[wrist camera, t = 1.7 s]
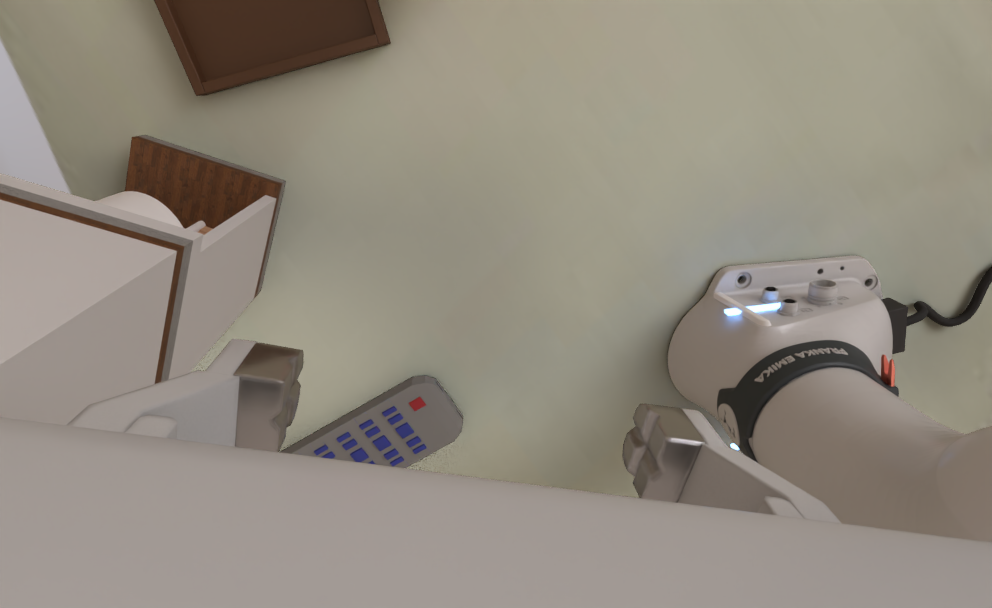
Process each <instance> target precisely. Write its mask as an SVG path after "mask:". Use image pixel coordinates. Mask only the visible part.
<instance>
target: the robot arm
mask: <svg viewBox="0 0 992 608" xmlns="http://www.w3.org/2000/svg"><path fill="white" fill-rule="evenodd" d="M740 276H743V278H742V279H741V280H740V281H738V278H739V277H740ZM867 279H868V280H867ZM866 280H867V282H866V283H865V281H866ZM991 282H992V267H991V268H990V269H989V270H988V271H987V272H986V273H985V275H984V276H983V277H982V279H981V281H980V282H979V284H978V286H977V288H976V290H975V293H974V295H973V297H972V299H971V301H970V303H969V305H968V306H967V308H966V309H965V310H964V312H963V313H962V314H960V315H959V316H957V317H955V318H952V319H948V318H944V317H942V316H940V315H939V314H938V313H937V312H935V311H934V310H933V309H932V308H931V307H930V306H929V305H927V304H926V303H924V302H922V301H917V302H916V303H915V304H914V308H915V309H916V310H917V313H915V314H914V315H911V316H908V317H907V313H908V307H907V306H905V305H903V304H901V303H899V302H897V301H895V300H893V299H891V298H885V299H883V296H882V289H881V285H880V281H879V278H878V276H877V274H876V272H875V270H874V268H873V267H872V265H871V264H870V263H869V262H868V261H867V260H866V259H864V258H863V257H861V256H841V257H829V258H818V259H806V260H794V261H782V262H770V263H758V264H747V265H735V266H727V267H724V268H722V269H721V270H719V271H718V273H717V274H716V275H715V277H714V278H713V280H712V282H711V284H710V286H709V288H708V290H707V292H706V294H705V295H704V297H703V298H702V299H701V300H700V301H699V302H698V303H697V304H696V305H695V306H694V307H693V308H692V309H691V310H690V311H689V312H688V313H687V314H686V315H685V316H684V318H683V319H682V320H681V322H680V323H679V325H678V326H677V328H676V330H675V332H674V334H673V336H672V339H671V342H670V345H669V350H668V369H669V374H670V377H671V380H672V382H673V384H674V385H675V387H676V388H677V390H678V391H679V392H680V393H681V394H682V395H683V396H684V397H685V398H686V399H688V400H689V401H691V402H693V403H695V404H697V405H699V406H700V407H702V408H703V409H705V410H706V411H708V412H709V413H710V414H711V415H713V416H714V417H715V418H716V419H717V420H718V421H720V422H721V424H722V426H723V428H724V430H725V431H726V433H727V434H728V436H729V437H730V439H731V440H732V441H733V444H730V445H731V447H732V448H728V447H727V445H726V444H725V443H724V442H723V440H722V439H721V438H720V436H719V435H718V434H717V432H716V431H715V430H714V429H713V427H712V426H711V425H710V423H709V422H708V421H707V420H706V418H705V417H704V416H703V414H702V413H701V412H699V411H697V410H691V409H681V408H676V407H668V406H661V405H653V404H639V406H638V407H637V408H636V410H635V413H634V416H633V420H634V423H635V427H634V428H633V429H631V430H630V431H629V432H628V433H627V435H626V438H625V441H624V444H623V460H624V464H625V467H626V469H627V471H628V472H630V473H631V474H632V475H633V476H635V479H634V481H633V484H634V486H635V489H636V491H637V493H638V495H639V497H640V498H636V497H628V496H620V495H612V494H604V493H596V492H588V491H580V490H572V489H564V488H556V487H549V486H541V485H533V484H525V483H517V482H509V481H501V480H494V479H486V478H478V477H470V476H462V475H454V474H446V473H439V472H431V471H423V470H415V469H407V468H399V467H391V466H384V465H376V464H368V463H360V462H352V461H344V460H336V459H329V458H321V457H313V456H305V455H297V454H289V453H281V452H279V450H280V448H281V446H282V444H283V442H284V439H285V436H286V428H287V427H288V426H290V425H291V424H292V421H293V419H294V416H295V413H296V409H297V406H298V400H299V395H300V387H301V385H300V383H299V382H298V380H297V379H298V377H299V375H300V372H301V370H302V368H303V357H304V353H303V350H300V349H294V348H288V347H282V346H277V345H271V344H265V343H257V342H256V341H249V340H241V339H232V340H231V341H230V342H229V343H228V344H227V345H226V347H225V348H224V349H223V350H222V351H221V353H220V354H219V355H218V356H217V357H216V359H215V360H214V361H213V362H212V363H211V365H210V366H209V367H208V368H207V370H206V371H199V370H197V371H194V372H191V373H188V374H185V375H182V376H178V377H175V378H172V379H169V380H166V381H163V382H159V383H156V384H153V385H150V386H147V387H144V388H140V389H137V390H134V391H131V392H128V393H125V394H121V395H118V396H115V397H112V398H109V399H106V400H102V401H99V402H96V403H93V404H90V405H88V406H87V407H86V408H85V409H83V410H82V411H81V412H80V413H79V414H78V415H77V416H76V417H75V418H74V419H72V420H71V421H70V422H69V423H68V424H67V425H59V424H51V423H43V422H35V421H27V420H19V419H11V418H3V417H0V608H992V426H990V427H986V428H982V429H979V430H977V431H974V432H971V433H969V434H964V433H961V432H958V431H955V430H953V429H950V428H948V427H946V426H944V425H942V424H940V423H938V422H936V421H934V420H933V419H931V418H930V417H928V416H926V415H925V414H923V413H922V412H920V411H919V410H917V409H916V408H914V407H913V406H911V405H910V404H908V403H907V402H905V401H903V400H902V399H901V398H899V393H898V388H897V387H896V386H894V381H895V367H894V361H893V360H892V354H895V353H899V352H903V351H904V350H905V338H906V326H908V325H911V324H914V323H917V322H919V321H921V320H923V319H924V318H925V317H926V316H928V317H929V318H930V319H932V320H933V321H935V322H936V323H938V324H940V325H943V326H951V327H952V326H956V325H960V324H962V323H964V322H966V321H967V320H968V319H970V318H971V317H972V316H973V315H974V313H975V312H976V311H977V309H978V307H979V306H980V304H981V302H982V300H983V298H984V295H985V293H986V291H987V289H988V287H989V285H990V284H991ZM738 449H740V450H741V451H742V453H743V454H742V453H741V452H739V451H737V450H738Z"/></svg>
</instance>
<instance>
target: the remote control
mask: <svg viewBox="0 0 992 608" xmlns="http://www.w3.org/2000/svg"><path fill="white" fill-rule="evenodd" d="M462 425H463V415H462V414H461V412H460V411H459V410H458V408H457V407H456V406H455V404H454V403H453V402H452V400H451V399H450V397H449V396H448V395H447V393H446V392H445V391H444V389H443V388H442V387H441V385H440V384H439V382H438V381H437V380H436V379H435V378H432V377H429V376H426V375H424V376H415V377H411V378H410V379H408V380H406V381H404V382H403V383H401V384H399V385H397V386H396V387H394V388H392V389H390V390H388V391H387V392H385V393H383V394H381V395H380V396H378V397H376V398H374V399H373V400H371V401H369V402H367V403H366V404H364V405H362V406H360V407H359V408H357V409H355V410H353V411H351V412H350V413H348V414H346V415H344V416H343V417H341V418H339V419H337V420H336V421H334V422H332V423H330V424H329V425H327V426H325V427H323V428H322V429H320V430H318V431H316V432H314V433H313V434H311V435H309V436H307V437H306V438H304V439H302V440H300V441H299V442H297V443H295V444H293V445H292V446H290V447H288V448H286V449H285V450H283V451H281V453H289V454H297V455H305V456H313V457H321V458H329V459H336V460H344V461H352V462H360V463H368V464H376V465H384V466H391V467H399V468H406V467H408V466H410V465H411V464H413V463H415V462H417V461H419V460H421V459H423V458H425V457H426V456H428V455H430V454H432V453H433V452H435V451H437V450H439V449H441V448H443V447H444V446H446V445H448V444H450V443H452V442H454V441H455V439H456V438H457V437H458V435H459V434H460V433H461V431H462Z"/></svg>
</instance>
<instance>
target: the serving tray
mask: <svg viewBox="0 0 992 608" xmlns="http://www.w3.org/2000/svg"><path fill="white" fill-rule="evenodd" d="M154 1H155V3H156V5H157V8H158V10H159V12H160V15H161V17H162V19H163V21H164V24H165V26H166V28H167V30H168V33H169V35H170V37H171V40H172V42H173V44H174V46H175V49H176V51H177V53H178V55H179V58H180V60H181V62H182V65H183V67H184V69H185V71H186V74H187V76H188V78H189V80H190V83H191V85H192V87H193V90H194V92H195V94H196V96H204V95H209V94H212V93H216V92H219V91H223V90H227V89H230V88H234V87H237V86H241V85H244V84H248V83H252V82H255V81H259V80H262V79H266V78H269V77H273V76H277V75H280V74H284V73H287V72H291V71H294V70H298V69H302V68H305V67H309V66H312V65H316V64H319V63H323V62H327V61H330V60H334V59H337V58H341V57H344V56H348V55H352V54H355V53H359V52H362V51H366V50H369V49H373V48H377V47H380V46H384V45H387V44H390V43H391V42H390V39H389V36H388V32H387V29H386V26H385V22H384V19H383V16H382V12H381V9H380V6H379V2H378V0H154Z"/></svg>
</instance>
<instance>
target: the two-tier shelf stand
mask: <svg viewBox="0 0 992 608" xmlns="http://www.w3.org/2000/svg"><path fill="white" fill-rule="evenodd" d="M285 183H286V181H284V180H281V179H278V178H275V177H272V176H269V175H266V174H263V173H260V172H257V171H254V170H251V169H248V168H245V167H241V166H238V165H235V164H232V163H229V162H226V161H223V160H220V159H217V158H214V157H211V156H208V155H205V154H202V153H199V152H196V151H193V150H190V149H187V148H184V147H181V146H177V145H174V144H171V143H168V142H165V141H162V140H159V139H156V138H153V137H150V136H147V135H141V136H136V137H132V141H131V149H130V156H129V164H128V172H127V179H126V187H125V192H120V193H117V194H114V195H111V196H109V197H106V198H103V199H100V200H97V201H91V200H88V199H85V198H81V197H78V196H75V195H71V194H68V193H65V192H61V191H58V190H55V189H51V188H48V187H45V186H41V185H38V184H34V183H31V182H28V181H24V180H21V179H18V178H15V177H11V176H8V175H4V174H1V173H0V417H3V418H11V419H19V420H27V421H35V422H43V423H51V424H59V425H67V424H68V423H69V422H70V421H71V420H72V419H74V418H75V417H76V416H77V415H78V414H79V413H80V412H81V411H82V410H83V409H85V408H86V407H87V406H88V405H90V404H93V403H96V402H99V401H102V400H106V399H109V398H112V397H115V396H118V395H121V394H125V393H128V392H131V391H134V390H137V389H140V388H144V387H147V386H150V385H153V384H156V383H159V382H163V381H166V380H169V379H172V378H175V377H178V376H182V375H185V374H188V373H190V372H191V371H192V370H193V368H194V367H195V366H196V365H197V364H198V363H199V362H200V360H201V359H202V358H203V357H204V356H205V355H206V353H207V352H208V351H209V350H210V349H211V348H212V347H213V345H214V344H215V343H216V342H217V341H218V340H219V338H220V337H221V336H222V335H223V334H224V333H225V332H226V330H227V329H228V328H229V327H230V326H231V325H232V323H233V322H234V321H235V320H236V319H237V318H238V317H239V315H240V314H241V313H242V312H243V311H244V310H245V308H246V307H247V306H248V305H249V304H250V303H251V302H252V300H253V299H254V298H255V297H256V296H257V295H258V293H259V292H260V291H261V288H262V283H263V279H264V275H265V270H266V266H267V262H268V257H269V253H270V248H271V244H272V240H273V235H274V231H275V227H276V222H277V218H278V213H279V209H280V205H281V200H282V196H283V192H284V187H285Z"/></svg>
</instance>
